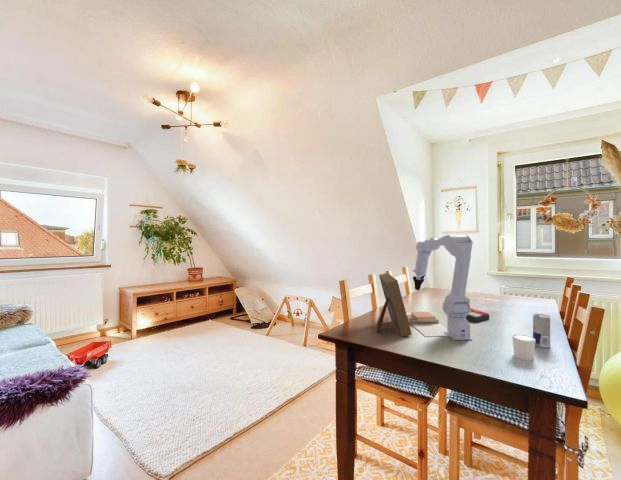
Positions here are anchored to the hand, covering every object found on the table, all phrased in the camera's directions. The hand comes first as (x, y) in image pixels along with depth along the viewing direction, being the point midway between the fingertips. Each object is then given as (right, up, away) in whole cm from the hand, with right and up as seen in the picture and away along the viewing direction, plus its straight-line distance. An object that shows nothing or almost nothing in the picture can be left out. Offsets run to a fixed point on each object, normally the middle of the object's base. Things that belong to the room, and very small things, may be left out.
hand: (418, 286), depth 156 cm
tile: (-2, -14, -11) cm, 18 cm away
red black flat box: (+25, -16, -4) cm, 30 cm away
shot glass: (+19, -17, -51) cm, 57 cm away
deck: (-2, -16, -6) cm, 17 cm away
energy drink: (+33, -17, -42) cm, 56 cm away
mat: (-1, -16, -22) cm, 28 cm away
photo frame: (-21, -17, -19) cm, 33 cm away
